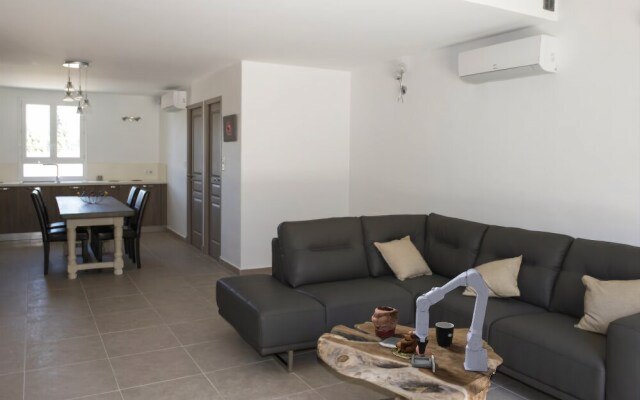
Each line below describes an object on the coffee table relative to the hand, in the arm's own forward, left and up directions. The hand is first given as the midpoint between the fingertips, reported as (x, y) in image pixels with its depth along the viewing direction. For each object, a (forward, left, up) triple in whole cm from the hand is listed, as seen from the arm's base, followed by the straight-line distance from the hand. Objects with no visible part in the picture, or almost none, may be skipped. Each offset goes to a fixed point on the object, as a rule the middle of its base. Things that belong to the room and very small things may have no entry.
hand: (421, 352), depth 247 cm
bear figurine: (+6, -12, -6) cm, 15 cm away
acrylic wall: (-5, +3, -5) cm, 8 cm away
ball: (0, 0, -1) cm, 1 cm away
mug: (-13, -28, -6) cm, 31 cm away
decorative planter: (+17, -38, -6) cm, 42 cm away
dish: (0, 0, -5) cm, 5 cm away
